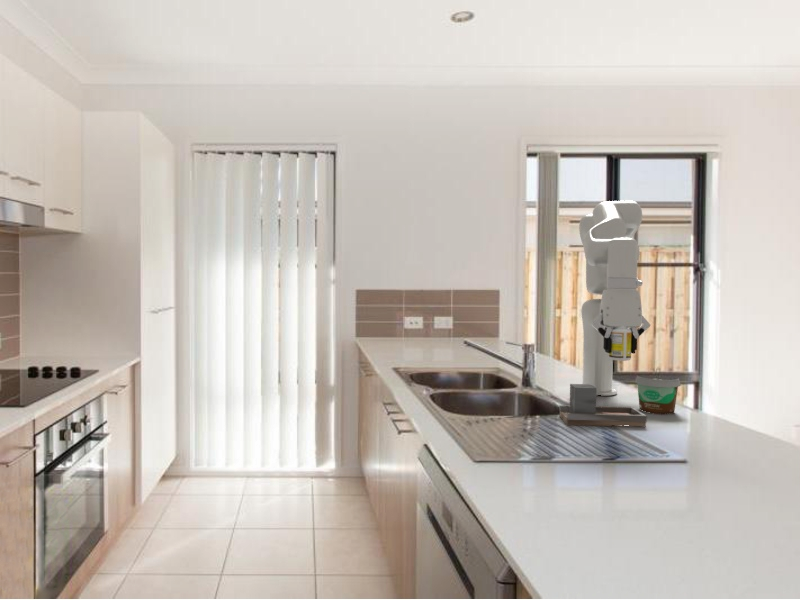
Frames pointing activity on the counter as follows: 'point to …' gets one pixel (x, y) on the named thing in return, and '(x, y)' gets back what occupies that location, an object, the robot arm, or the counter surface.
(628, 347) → the supplement bottle
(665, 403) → the food container
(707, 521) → the counter surface
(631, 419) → the wooden tray
